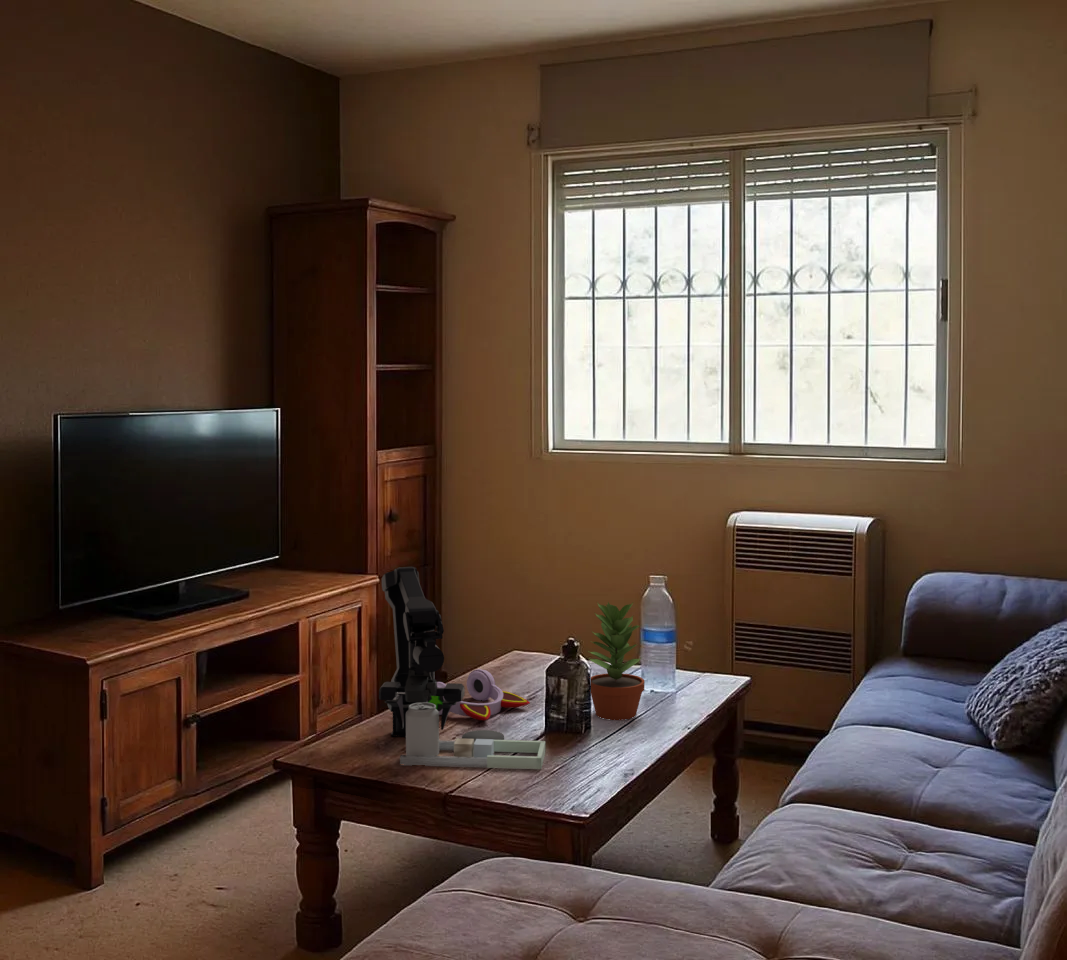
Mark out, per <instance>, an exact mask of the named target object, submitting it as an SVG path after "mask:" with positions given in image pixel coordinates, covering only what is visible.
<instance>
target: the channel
mask: <svg viewBox="0 0 1067 960" xmlns="http://www.w3.org/2000/svg"><path fill="white" fill-rule="evenodd" d="M455 741H456V740H443V739H439V751H452V752H454V743H455ZM474 743H475V741H474ZM400 764H404V765H403V766H412V765H425V766H424V767H450V768H451V767H453V768H454V767H457V768H481V769H482V768H483V769H485V768H487V757H456V756H454V755H453V756H452V755H451V756H449V755H448V756H447V755H442V756H441V755H437V756H421V755H406V754H401V755H400V756H399V765H400Z"/></svg>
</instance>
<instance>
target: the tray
mask: <svg viewBox="0 0 1067 960" xmlns="http://www.w3.org/2000/svg"><path fill="white" fill-rule="evenodd" d="M496 752H497V753H498V752H499V753H503V752H504V753H531V754H533V753H534V754H536V755H537V756H533V755H532V756H531V755H530V756H529V755H527V756H525V755H496V754H494V755H488V756H487V768H488V769H515V770H516V769H517V770H519V769H520V770H522V769H523V770H542V768H543V764H544V760H545V756H546V740H524V739H523V740H517V739H515V740H514V739H504V740H494V753H496Z"/></svg>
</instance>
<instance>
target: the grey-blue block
mask: <svg viewBox="0 0 1067 960" xmlns="http://www.w3.org/2000/svg"><path fill="white" fill-rule="evenodd" d="M494 753H495V752H494V739H476V741H475V743H474V757H487V756H488V755H495V754H494Z"/></svg>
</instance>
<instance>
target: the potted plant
mask: <svg viewBox="0 0 1067 960" xmlns="http://www.w3.org/2000/svg"><path fill="white" fill-rule="evenodd" d="M596 603H597V606H598V608H599V609H600V610H601V612H602V613H603V614H597V613H595V612H594V614H595V616H596V617H597V619H599V620H600V622H601V624H600V625H601V629H602V632H603V633H604V634H602V633H600V632H593V631H592V633H593V634H594V635H595V636H596V637H597V638H598V639H599V640H600V641H602V642H603V643H601V642H599V641H591V643H592V644H594V645H596V646H598V647H600V648H602V649H604V650H605V651H607V652H609V654H610V655H611V656H610V657H609V656H606V655H605V654H603V653H600V652H597V651H589V650H587V652H588V653H590V654H592V655H593V656H595V657H597V658H598V659H596V658H588V657H587V658H588V659H589V660H590V662H592V663H594V664H596V665H598V666H599V667H601V668H603V669H605V670H606V673H600V674H596V675H591V676H590V677H591V692H590V695H591V701H592V703H593V708H594V712H595V715H596V716H597V717H598V716H599V717H598V718H600V717H601V718H600V719H602V718H604V719H603V720H606V719H610V720H609V721H626V720H625V719H628V720H631V719H630V718H632V717H634V716H635V715H636V716H637V713H638V709H639V705H640V700H641V698H642V694H643V692H644V691H645V679H644V678H642V676H641V677H640V676H638V675H634V674H629V673H624V672H626V671H627V670H629V669H630V668H632V667H633V666H635V665H636V664H637V663H639V662H640V660H641V659H642V657H640V658H632V659H629V660H628V661H626V662H624V658H625V655H626V654H628V653H629V651H631V650H632V649H634V648H635V647H636V646H637V644H632V645H630V644H629V643H628V642H629V640H630V638H631V637H632V634H633V632H634V631H635V630H636V629H638V628H639V627H641V625H638V624H637V625H633V624H632V622H633V621H634V619H633V617H634V615H632V616H631V617H625V616H626V615H627V613H628V612H629V611H630V609H631V607H632V606H633V604H634V602H632V603H631V604H630V603H629V604H625V605H624V606H622V608H621V609H620V610H619V608H618V607H617V606H616V605H613V604H610V603H609V601H608V602H607V604H606V605H605V604H599V603H598V601H596ZM603 660H604V661H603ZM636 716H635V717H636ZM635 717H634V718H635ZM632 719H633V718H632Z"/></svg>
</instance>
